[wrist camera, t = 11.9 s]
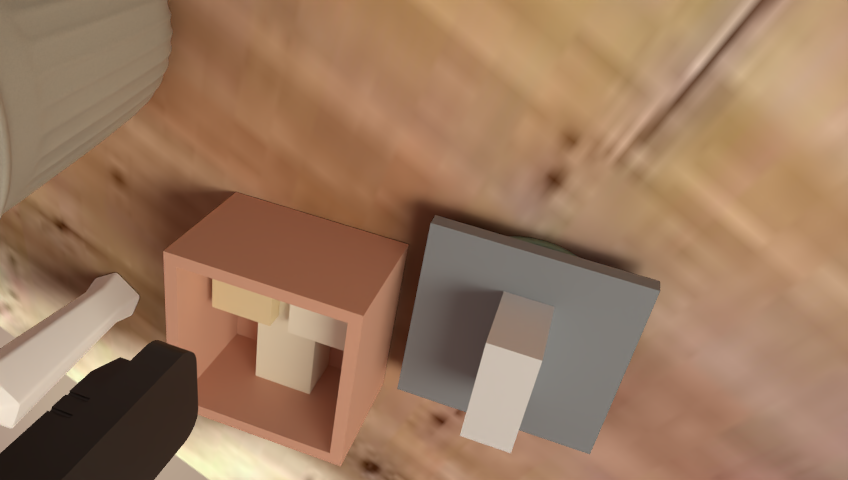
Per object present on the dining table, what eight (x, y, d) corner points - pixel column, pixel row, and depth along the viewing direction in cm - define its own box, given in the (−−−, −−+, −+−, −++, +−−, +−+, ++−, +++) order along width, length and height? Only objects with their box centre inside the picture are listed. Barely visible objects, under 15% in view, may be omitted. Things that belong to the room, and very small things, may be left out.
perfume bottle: (98, 256, 52) (-81, 385, 39) (147, 289, 52) (-15, 428, 40) (84, 295, 54) (-88, 428, 42) (131, 326, 55) (-26, 468, 42)
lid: (660, 271, 39) (660, 346, 33) (592, 431, 46) (582, 517, 40) (440, 207, 41) (403, 267, 35) (406, 369, 48) (371, 442, 42)
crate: (408, 244, 44) (363, 316, 37) (381, 392, 50) (339, 475, 44) (236, 192, 45) (162, 251, 39) (232, 341, 52) (169, 413, 45)
